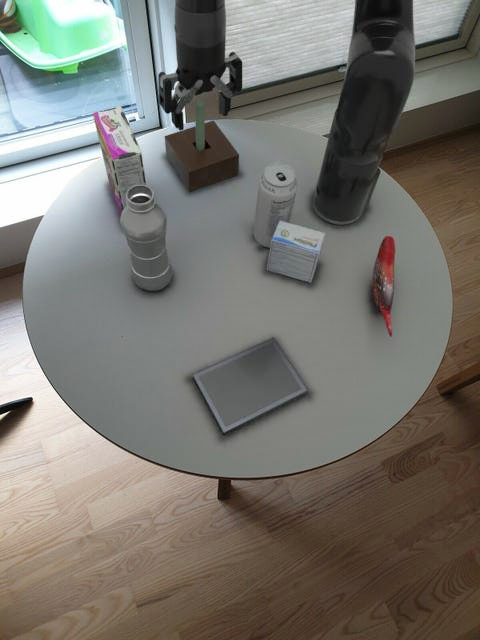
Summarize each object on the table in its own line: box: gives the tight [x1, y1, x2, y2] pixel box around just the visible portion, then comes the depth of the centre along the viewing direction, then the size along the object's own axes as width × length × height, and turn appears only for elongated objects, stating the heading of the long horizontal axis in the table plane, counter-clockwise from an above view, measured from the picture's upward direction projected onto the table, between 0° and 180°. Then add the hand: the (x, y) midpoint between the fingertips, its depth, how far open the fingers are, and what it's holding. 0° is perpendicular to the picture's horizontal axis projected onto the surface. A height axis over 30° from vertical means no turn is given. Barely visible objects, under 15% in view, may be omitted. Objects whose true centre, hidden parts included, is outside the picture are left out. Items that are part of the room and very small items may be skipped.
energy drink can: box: [252, 162, 299, 249], centre depth 89 cm, size 6×6×15 cm
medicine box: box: [266, 220, 326, 284], centre depth 89 cm, size 8×4×9 cm, turn 72°
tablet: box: [192, 337, 309, 436], centre depth 81 cm, size 14×10×1 cm
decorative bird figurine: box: [371, 235, 396, 338], centre depth 85 cm, size 3×18×10 cm, turn 176°
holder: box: [164, 120, 240, 193], centre depth 102 cm, size 10×10×5 cm
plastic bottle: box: [119, 185, 173, 292], centre depth 81 cm, size 6×7×20 cm
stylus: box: [194, 99, 206, 152], centre depth 98 cm, size 2×2×14 cm
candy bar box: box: [92, 106, 147, 215], centre depth 91 cm, size 11×5×16 cm, turn 23°
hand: (201, 120), depth 95 cm, fingers open, 8 cm apart
